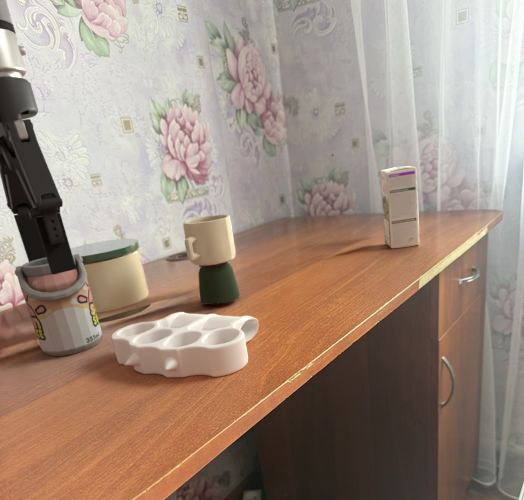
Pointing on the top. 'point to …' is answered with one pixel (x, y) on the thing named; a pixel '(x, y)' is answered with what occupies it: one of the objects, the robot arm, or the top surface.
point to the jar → (114, 275)
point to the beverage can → (60, 307)
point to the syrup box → (400, 206)
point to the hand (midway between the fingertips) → (51, 266)
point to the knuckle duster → (186, 344)
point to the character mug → (212, 257)
